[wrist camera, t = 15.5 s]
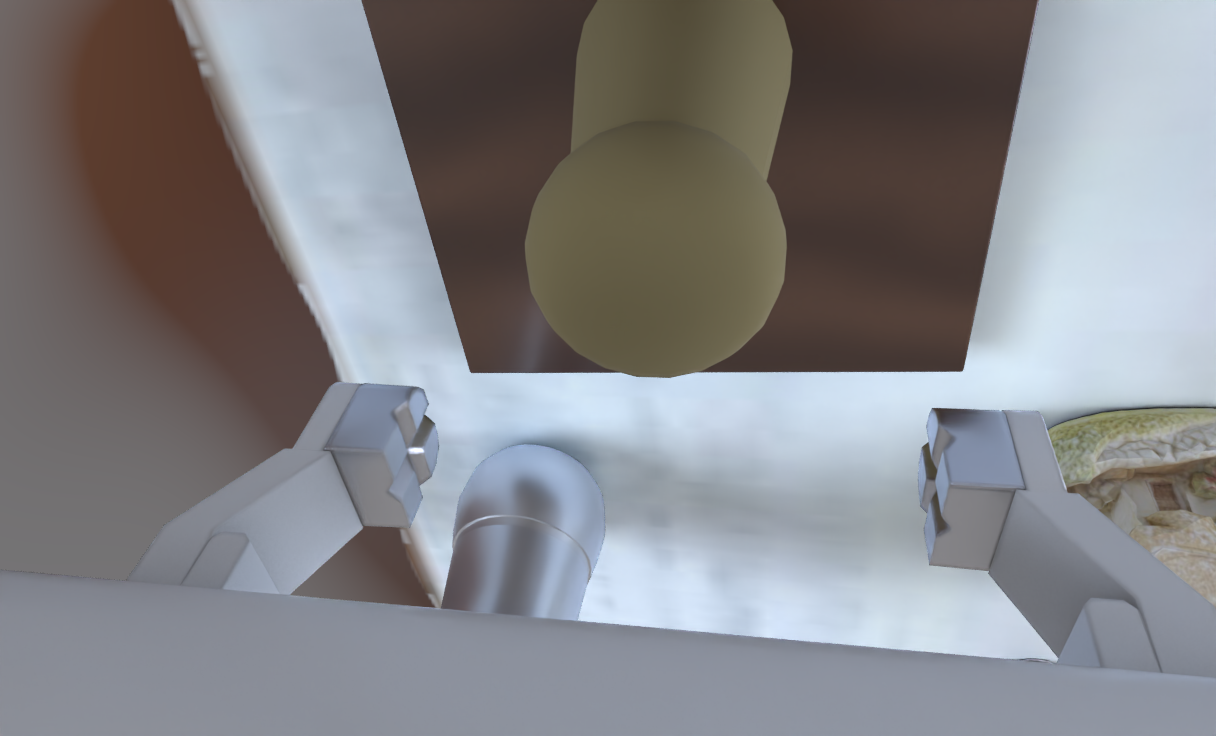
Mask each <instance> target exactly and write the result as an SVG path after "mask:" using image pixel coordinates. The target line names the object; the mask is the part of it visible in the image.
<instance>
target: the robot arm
mask: <svg viewBox="0 0 1216 736" xmlns="http://www.w3.org/2000/svg"><path fill="white" fill-rule="evenodd" d="M428 405H429V403H428V400H427V398H426V395H425V392H424V389H421V388H419V387H413V386H398V385H383V384H368V383H364V384H357V383H344V382H336V383H335V384H333V385H332V386H330V387H329V389H328V390H327V392H326V394H325V395H324V397H323V399H322V400H321V402H320V404H319V405H318V407H317V409H316V410H315V412H314V414H313V415H312V417H311V419H310V420H309V422H308V424H307V425H306V427H305V429H304V431H303V432H302V434H301V435H300V437H299V439H298V440H297V442H296V444H295V445H294V447H293V449H283V450H282V451H280V452H278V453H277V454H275V455H274V456H272V457H271V458H269V459H267V460H266V461H264V462H262V463H261V464H259V465H258V466H256V467H255V468H253V469H252V470H250V471H249V472H247V473H245V474H244V475H242V476H240V477H239V478H237V479H236V480H234V481H233V482H231V483H230V484H228V485H226V486H225V487H223V488H221V489H220V490H218V491H217V492H215V493H214V494H212V495H210V496H209V497H207V498H206V499H204V500H203V501H201V502H199V503H198V504H196V505H195V506H193V507H192V508H190V509H188V510H187V511H185V512H184V513H182V514H181V515H179V516H177V517H176V518H174V519H173V520H171V521H169V522H168V523H166V524H165V525H164V526H163V527H162V529H161V530H160V532H159V533H158V535H157V536H156V537H155V539H154V540H153V542H152V543H151V545H150V546H149V548H148V549H147V550H146V552H145V553H144V555H143V556H142V558H141V559H140V561H139V562H138V563H137V565H136V567H135V568H134V569H133V571H132V572H131V574H130V575H129V577H128V578H127V579H126V581H123V580H111V579H101V578H89V577H79V576H67V575H55V574H45V573H33V572H22V571H10V570H0V736H1216V609H1215V607H1214V605H1213V604H1212V603H1210V602H1209V601H1208V600H1207V599H1206V598H1204V597H1203V596H1202V595H1201V594H1200V593H1198V592H1197V591H1196V590H1195V589H1193V588H1192V587H1191V586H1190V585H1189V584H1187V583H1186V582H1185V581H1184V580H1183V579H1181V578H1180V577H1179V576H1178V575H1177V574H1175V573H1174V572H1173V571H1172V570H1170V569H1169V568H1168V567H1167V566H1166V565H1164V564H1163V563H1162V562H1161V561H1160V560H1158V559H1157V558H1156V557H1155V556H1153V555H1152V554H1151V553H1150V552H1149V551H1147V550H1146V549H1145V548H1144V547H1143V546H1141V545H1140V544H1139V543H1138V542H1137V541H1135V540H1134V539H1133V538H1132V537H1130V536H1129V535H1128V534H1127V533H1126V532H1124V531H1123V530H1122V529H1121V528H1120V527H1118V526H1117V525H1116V524H1115V523H1113V522H1112V521H1111V520H1110V519H1109V518H1107V517H1106V516H1105V515H1104V514H1103V513H1101V512H1100V511H1099V510H1098V509H1097V508H1095V507H1094V506H1093V505H1092V504H1090V503H1089V502H1088V501H1087V500H1086V499H1084V498H1083V497H1082V496H1081V495H1080V494H1078V493H1068V492H1067V489H1066V486H1065V483H1064V480H1063V477H1062V474H1061V471H1060V468H1059V465H1058V461H1057V458H1056V455H1055V452H1054V449H1053V446H1052V443H1051V440H1050V437H1049V434H1048V431H1047V428H1046V425H1045V422H1044V419H1043V416H1042V415H1041V414H1040V413H1039V412H1038V411H1018V410H1002V411H999V410H976V409H947V408H932V409H931V411H930V414H929V417H928V421H927V426H926V428H927V434H928V441H929V442H928V443H927V444H925V445H924V446H923V447H922V449H921V455H920V460H919V471H918V490H919V499H920V507H921V508H922V509H923V510H924V511H925V512H926V513H927V518H926V523H925V527H924V534H925V540H926V546H927V552H928V559H929V565H933V566H943V567H954V568H964V569H974V570H985V571H989V573H988V574H989V575H990V576H991V577H992V578H993V580H994V581H995V582H996V583H997V585H998V586H999V587H1000V588H1001V589H1002V591H1003V592H1004V593H1005V594H1006V595H1007V597H1008V598H1009V599H1010V600H1011V601H1012V603H1013V604H1014V605H1015V606H1016V607H1017V609H1018V610H1019V611H1020V612H1021V613H1022V615H1023V616H1024V617H1025V618H1026V619H1027V621H1028V622H1029V623H1030V624H1031V625H1032V627H1033V628H1034V629H1035V630H1036V632H1037V633H1038V634H1039V635H1040V636H1041V638H1042V639H1043V640H1044V641H1045V642H1046V644H1047V645H1048V646H1049V647H1050V648H1051V650H1052V651H1053V652H1054V653H1055V654H1056V656H1057V657H1058V658H1059V659H1058V661H1057V663H1045V662H1034V661H1022V660H1011V659H1000V658H989V657H978V656H966V655H955V654H944V653H933V652H921V651H910V650H899V649H888V648H877V647H866V646H854V645H843V644H832V643H821V642H810V641H798V640H787V639H776V638H765V637H753V636H742V635H731V634H720V633H709V632H697V631H686V630H675V629H664V628H653V627H641V626H630V625H619V624H608V623H596V622H585V621H574V620H563V619H551V618H540V617H529V616H518V615H506V614H495V613H484V612H473V611H461V610H450V609H439V608H428V607H416V606H405V605H393V604H383V603H371V602H360V601H349V600H338V599H326V598H315V597H304V596H292V595H290V594H291V593H292V592H293V591H294V590H295V589H296V588H298V587H299V586H300V585H301V584H302V583H303V582H304V581H305V580H306V579H308V578H309V577H310V576H311V575H312V574H313V573H314V572H315V571H316V570H317V569H319V568H320V567H321V566H322V565H323V564H324V563H325V562H326V561H327V560H329V559H330V558H331V557H332V556H333V555H334V554H335V553H336V552H337V551H338V550H340V549H341V548H342V547H343V546H344V545H345V544H346V543H347V542H348V541H349V540H350V539H352V538H353V537H354V536H355V535H356V534H357V533H358V532H359V531H360V530H362V529H363V526H384V527H406V528H410V527H411V525H412V522H413V520H414V518H415V515H416V513H417V510H418V508H419V506H420V503H421V501H422V498H423V495H422V492H421V489H420V485H421V484H422V483H424V482H425V481H426V480H428V479H429V478H430V477H432V474H433V471H434V469H435V466H436V464H437V457H438V450H439V442H438V433H437V430H436V426H435V423H434V422H433V421H432V420H430V419H429V418H428V417H427V416H426V415H425V411H426V409H427V407H428Z"/></svg>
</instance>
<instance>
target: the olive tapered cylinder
mask: <svg viewBox="0 0 1216 736" xmlns="http://www.w3.org/2000/svg"><path fill="white" fill-rule="evenodd" d="M792 52H793V50H792V47H791V43H790V39H789V35H788V31H787V28H786V24H785V20H784V17H783V15H782V14H781V12H780V11H779V9H778V8H777V7H776V5H775V4H774V2H773V1H772V0H598V1H597V2H596V4H595V5H594V7H593V9H592V10H591V12H590V14H589V15H588V17H587V19H586V20H585V22H584V25H583V30H582V34H581V39H580V43H579V47H578V52H577V59H576V75H575V91H574V107H573V123H572V138H571V153H570V154H569V155H568V156H567V157H566V158H565V159H563V160H562V161H561V162H560V163H559V164H558V165H557V167H556V168H555V170H554V171H553V173H552V174H551V176H550V177H549V179H548V180H547V182H546V183H545V185H544V186H543V188H542V189H541V191H540V192H539V194H538V196H537V198H536V201H535V203H534V206H533V208H532V212H531V217H530V221H529V226H528V230H527V235H526V240H525V256H526V264H527V271H528V277H529V283H530V289H531V293H532V295H533V297H534V298H535V300H536V302H537V304H538V306H539V308H540V309H541V311H542V313H543V315H544V317H545V318H546V320H547V322H548V323H549V325H550V326H551V327H552V329H553V330H554V331H555V332H556V333H557V334H558V335H559V336H560V337H561V338H562V339H563V340H564V341H565V342H566V343H567V344H568V345H569V346H570V347H571V348H572V349H573V350H574V351H575V352H577V353H578V354H580V355H582V356H584V357H586V358H587V359H589V360H591V361H593V362H595V363H596V364H598V365H600V366H602V367H604V368H606V369H610V370H614V371H617V372H621V373H625V374H629V375H632V376H636V377H662V378H671V377H676V376H680V375H685V374H690V373H695V372H699V371H703V370H705V369H706V368H708V367H710V366H712V365H714V364H716V363H718V362H720V361H722V360H724V359H726V358H728V357H730V356H731V355H733V354H734V353H735V352H737V351H738V350H739V349H740V348H741V347H743V346H744V345H745V344H746V343H747V342H748V341H749V340H750V339H751V338H752V337H753V336H754V335H755V334H756V333H757V332H758V331H759V330H760V329H761V328H762V327H763V326H764V324H765V322H766V320H767V318H768V316H769V314H770V312H771V310H772V308H773V306H774V304H775V302H776V300H777V297H778V295H779V293H780V290H781V287H782V285H783V282H784V275H785V263H786V250H787V242H786V230H785V226H784V223H783V220H782V217H781V213H780V210H779V207H778V204H777V200H776V197H775V194H774V193H773V191H772V189H771V188H770V186H769V185H768V183H767V182H766V181H767V177H768V173H769V169H770V165H771V161H772V156H773V152H774V148H775V144H776V140H777V136H778V132H779V128H780V124H781V120H782V116H783V112H784V107H785V103H786V99H787V95H788V91H789V87H790V80H791V66H792Z"/></svg>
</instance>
